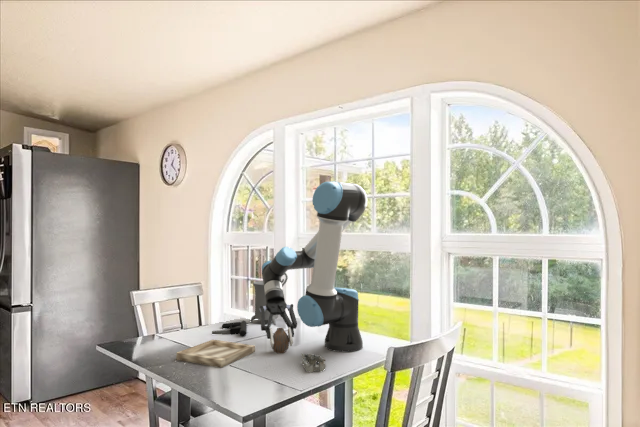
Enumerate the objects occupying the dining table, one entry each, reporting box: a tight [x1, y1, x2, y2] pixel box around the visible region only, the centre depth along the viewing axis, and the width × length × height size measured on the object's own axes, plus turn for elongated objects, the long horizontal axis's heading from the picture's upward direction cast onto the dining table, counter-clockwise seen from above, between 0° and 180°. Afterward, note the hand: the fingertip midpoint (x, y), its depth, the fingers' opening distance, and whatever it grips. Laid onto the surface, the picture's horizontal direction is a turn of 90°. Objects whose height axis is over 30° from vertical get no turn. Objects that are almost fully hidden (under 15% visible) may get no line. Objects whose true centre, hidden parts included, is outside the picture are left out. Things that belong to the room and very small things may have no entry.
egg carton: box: [300, 353, 327, 373], centre depth 148 cm, size 11×8×4 cm
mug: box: [250, 272, 289, 326], centre depth 217 cm, size 19×15×25 cm
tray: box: [175, 339, 256, 369], centre depth 160 cm, size 20×20×2 cm
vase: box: [271, 327, 290, 354], centre depth 166 cm, size 7×7×9 cm
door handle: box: [211, 320, 249, 338], centre depth 196 cm, size 3×20×16 cm
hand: (282, 344), depth 163 cm, fingers closed on vase, 6 cm apart
